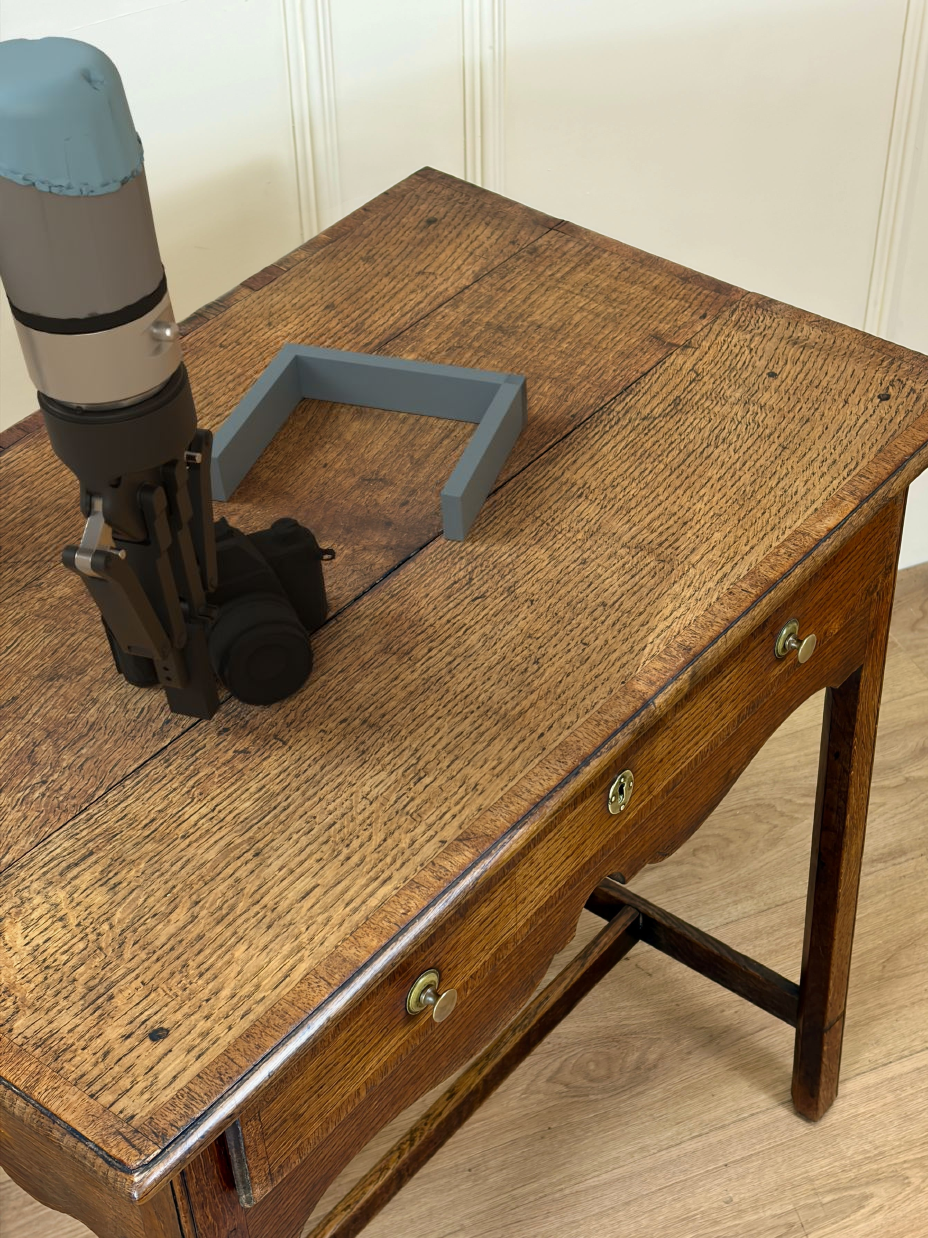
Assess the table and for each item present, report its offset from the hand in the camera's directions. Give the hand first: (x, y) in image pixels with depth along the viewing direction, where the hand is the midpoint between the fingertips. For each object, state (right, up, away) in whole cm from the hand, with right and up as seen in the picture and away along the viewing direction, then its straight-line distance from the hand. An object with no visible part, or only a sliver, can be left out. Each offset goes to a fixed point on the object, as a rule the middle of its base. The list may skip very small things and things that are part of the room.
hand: (195, 708), depth 90 cm
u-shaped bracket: (+9, +19, +22) cm, 30 cm away
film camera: (+2, +3, +6) cm, 7 cm away
